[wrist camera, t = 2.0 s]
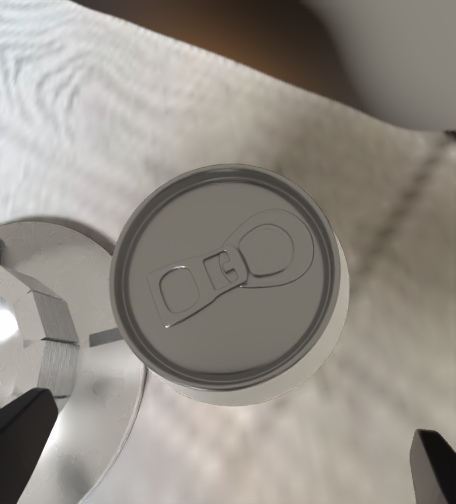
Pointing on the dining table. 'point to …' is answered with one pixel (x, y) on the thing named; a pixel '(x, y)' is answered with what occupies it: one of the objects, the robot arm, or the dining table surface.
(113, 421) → the rosette
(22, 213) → the dining table surface
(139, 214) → the can
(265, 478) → the dining table surface
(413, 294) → the dining table surface
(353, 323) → the dining table surface
